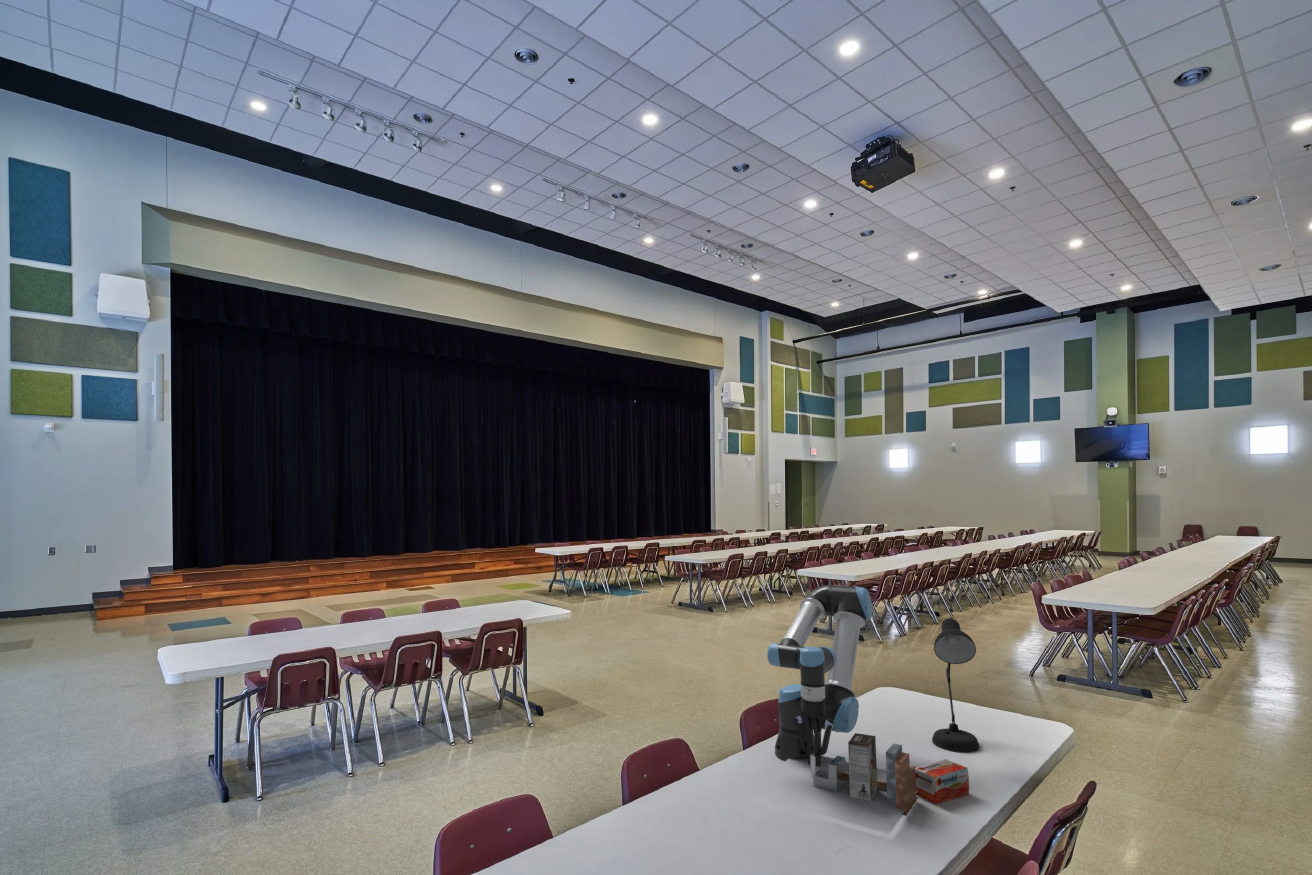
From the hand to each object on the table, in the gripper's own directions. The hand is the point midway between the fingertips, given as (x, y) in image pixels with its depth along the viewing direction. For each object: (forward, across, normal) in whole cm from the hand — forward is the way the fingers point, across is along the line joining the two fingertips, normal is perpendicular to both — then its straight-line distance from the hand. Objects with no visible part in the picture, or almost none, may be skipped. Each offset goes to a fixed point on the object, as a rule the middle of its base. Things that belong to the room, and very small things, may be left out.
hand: (814, 775), depth 208 cm
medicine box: (+3, +34, +16) cm, 38 cm away
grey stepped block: (+2, +5, 0) cm, 5 cm away
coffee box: (+2, +15, 0) cm, 15 cm away
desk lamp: (+2, +28, +61) cm, 67 cm away
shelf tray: (+3, +14, +1) cm, 15 cm away
